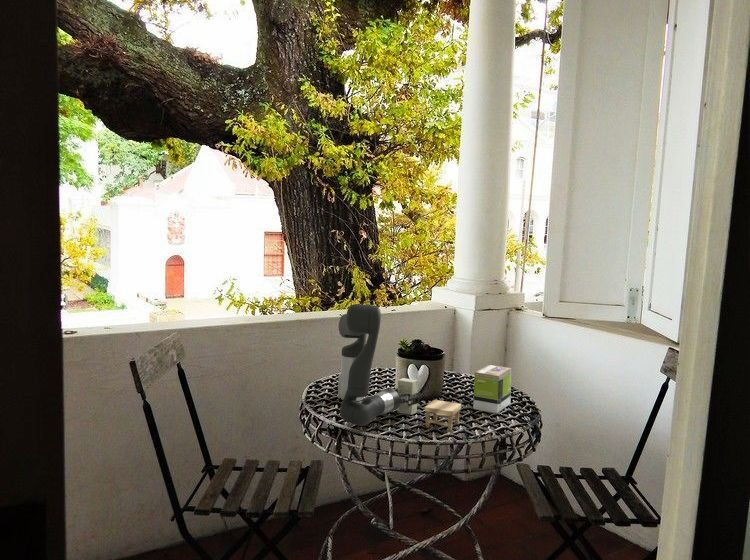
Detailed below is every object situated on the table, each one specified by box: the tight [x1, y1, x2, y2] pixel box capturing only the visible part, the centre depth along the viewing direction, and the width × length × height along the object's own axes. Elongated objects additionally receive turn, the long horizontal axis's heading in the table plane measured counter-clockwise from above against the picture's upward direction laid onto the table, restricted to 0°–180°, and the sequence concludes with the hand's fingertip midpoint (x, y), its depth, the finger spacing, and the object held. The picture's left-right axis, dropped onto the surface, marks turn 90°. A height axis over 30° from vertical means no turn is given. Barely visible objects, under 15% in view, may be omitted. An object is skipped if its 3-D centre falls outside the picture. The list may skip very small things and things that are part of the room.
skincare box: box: [396, 377, 418, 416], centre depth 235 cm, size 6×4×12 cm
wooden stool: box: [424, 399, 462, 432], centre depth 223 cm, size 10×10×7 cm
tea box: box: [472, 364, 513, 414], centre depth 247 cm, size 15×10×15 cm, turn 149°
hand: (409, 392), depth 236 cm, fingers open, 8 cm apart
